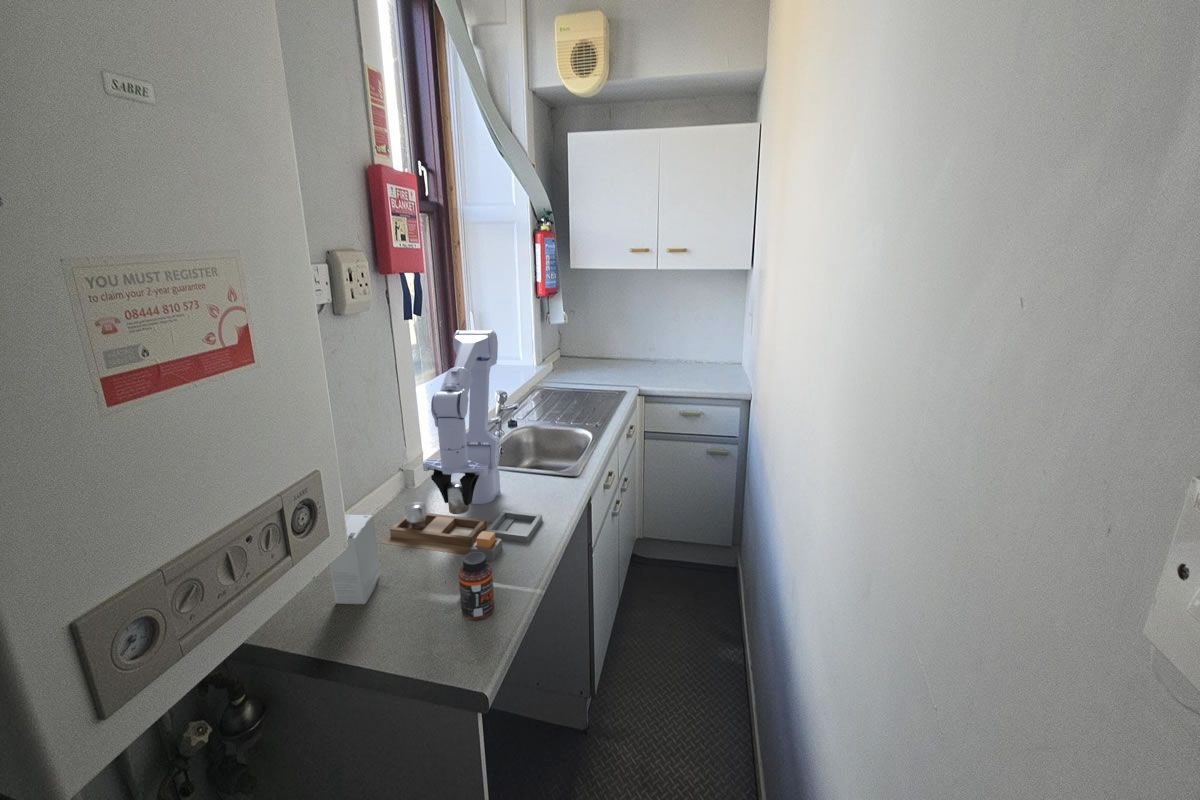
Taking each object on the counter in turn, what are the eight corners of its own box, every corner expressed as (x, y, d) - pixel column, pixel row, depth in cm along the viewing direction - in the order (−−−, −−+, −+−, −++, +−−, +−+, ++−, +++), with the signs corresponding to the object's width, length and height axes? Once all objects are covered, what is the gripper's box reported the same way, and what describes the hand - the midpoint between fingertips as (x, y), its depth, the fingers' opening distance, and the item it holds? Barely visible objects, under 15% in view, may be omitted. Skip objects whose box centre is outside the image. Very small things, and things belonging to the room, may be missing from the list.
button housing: (481, 548, 121) (480, 536, 120) (502, 550, 120) (501, 538, 119) (471, 560, 116) (470, 548, 115) (493, 563, 115) (492, 551, 114)
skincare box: (353, 578, 111) (343, 512, 106) (383, 578, 110) (374, 512, 106) (334, 606, 102) (321, 536, 98) (366, 606, 102) (355, 536, 98)
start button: (483, 543, 119) (482, 530, 118) (495, 544, 119) (495, 532, 118) (477, 550, 116) (476, 538, 116) (490, 552, 116) (489, 539, 115)
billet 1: (414, 523, 129) (411, 500, 127) (431, 525, 128) (428, 502, 127) (404, 533, 125) (401, 509, 123) (421, 535, 124) (418, 511, 122)
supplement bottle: (487, 624, 98) (482, 569, 94) (456, 619, 99) (450, 565, 95) (499, 602, 103) (496, 550, 100) (470, 598, 104) (465, 546, 101)
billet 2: (455, 503, 125) (453, 479, 123) (472, 506, 124) (470, 481, 122) (445, 512, 121) (442, 488, 119) (463, 515, 120) (461, 490, 118)
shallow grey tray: (503, 517, 134) (502, 510, 133) (542, 522, 131) (542, 514, 131) (486, 539, 124) (485, 531, 124) (527, 544, 122) (527, 536, 121)
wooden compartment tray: (415, 516, 135) (414, 505, 134) (494, 525, 130) (494, 514, 129) (381, 546, 122) (379, 534, 121) (468, 558, 117) (466, 546, 116)
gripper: (412, 449, 116) (419, 507, 120) (476, 455, 112) (480, 514, 116) (430, 437, 122) (435, 492, 126) (490, 442, 119) (494, 499, 123)
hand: (458, 502), depth 122 cm, fingers closed on billet 2, 4 cm apart
